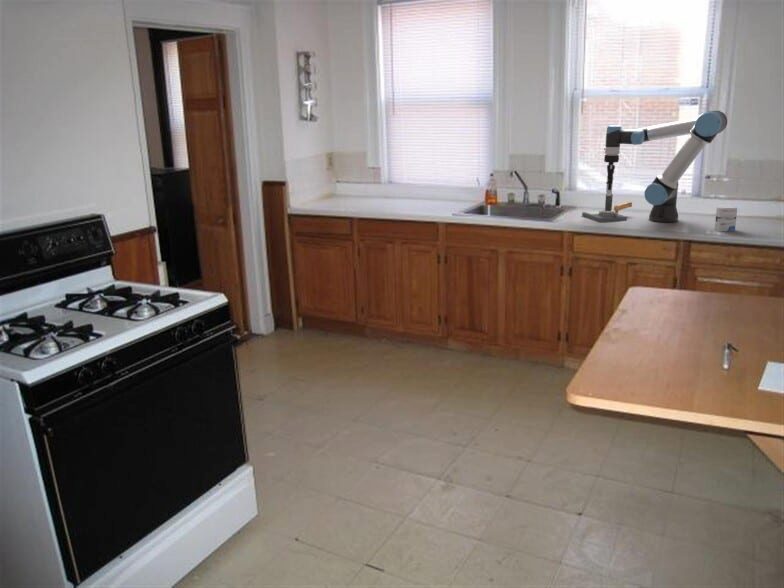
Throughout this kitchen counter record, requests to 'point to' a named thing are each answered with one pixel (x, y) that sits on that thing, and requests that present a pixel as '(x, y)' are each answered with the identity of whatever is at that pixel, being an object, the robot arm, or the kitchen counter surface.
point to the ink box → (725, 218)
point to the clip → (622, 206)
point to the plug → (608, 205)
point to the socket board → (604, 216)
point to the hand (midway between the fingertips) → (608, 193)
